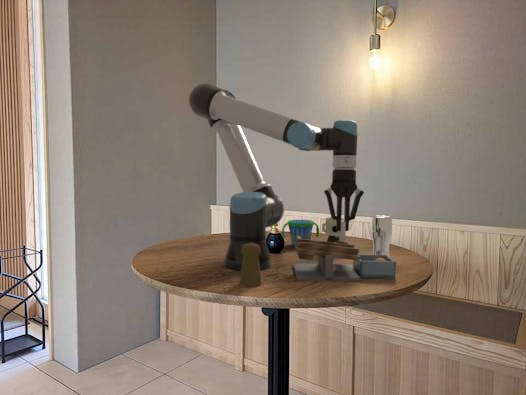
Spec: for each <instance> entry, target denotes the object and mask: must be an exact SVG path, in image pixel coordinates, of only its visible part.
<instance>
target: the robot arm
mask: <svg viewBox="0 0 526 395" xmlns="http://www.w3.org/2000/svg"><path fill="white" fill-rule="evenodd" d="M188 103H189V107H190V109H191V111H192V113H194V114H195V115H196V116H198V117H199V118H202V119H206V120H207V122H208V124H209V126H210V128H211V131H212V132H216V133H217V135H218V137H219V139H220V142H221V144H222V146H223V149H224V152H225V153H226V156H227V158H228V160H229V162H230V164H231V167H232V169H233V171H234V174H235V176H236V179H237V181H238V183H239V186H240V188H241V191H242V192H237V193H235V194H233V195H232V196H231V197H230V204H229V243H228V247H227V248H226V253H225V255H224V262H223V264H224V267H226V268H229V269H232V270H239V271H241V269H242V262H243V254H242V252H241V249H242V246H243V245H244V244H248V243H254V244H258V245H259V246H260V249H261V251H260V254H259V256H258V257H259V266H260V270H263V269H267V268H270V267H271V266H272V265H271V263H272V262H271V260H272V259H271V255H270V251H269V248H268V245H267V242H266V240H267V239H266V234H267V233H266V232H267V230H266V229H267V228H271V227H274V226H275V225H277V224H278V223H279V222H280V221H281V220H282V218H283V216H284V214H285V205H284V201H283V200H282V198H281V197H279V196H278V195H276V194H275V192H274V190H273V187H272V186H271V184H270V183H267V182H265V180H264V177H263V175H262V173H261V170H260V167H259V165H258V163H257V160H256V159H255V157H254V155H253V152H252V150H251V146H250V145H249V142H248V140H247V138H246V136H245V134H244V131H243V128H245V129H248V130H250V131H252V132H256V133H259V134H262V135H265V136H266V137H269V138H272V139H275V140H277V141H281V142H283V143H286V144H288V145H290V146H293V147H294V148H296V149H298V150H299V151H302V152H303V151H304V152H310V151H317V152H318V151H319V152H320V151H323V152H324V151H332V168H333V169H332V172H331V173H332V176H331V177H332V178H331V179H332V180H331V184H330V187H329V188H327V189H324V190H323V193H324V195H325V197H326V199H327V204H328V209H329V214H330V217H331V218H332V219H334V220H336V221H337V225H336V229H337V231H339V240H340V241H341V242H346V232H349V230H350V229H349V228H350V221H353V220H355V219H356V215H357V212H358V208H359V206H360V205H359V204H360V201H361V198H362V197H363V195H364V194H365V192H364V190H361V189H360V188H358V184H357V170H356V168H357V150H358V149H357V148H358V123H357V121H355V120H351V119H350V120H348V119H344V120H343V119H340V120H336V121H334V122H333V126H331V127H316V126H314V125H311V124H309V123H307V122H304V121H300V120H297V119H294V118H291V117H289V116H286V115H282V114H281V113H280V114H279V113H277V112H274V111H271V110H268V109H265V108H263V107H259V106H256V105H254V104H251V103H248V102H245V101H242V100H239V99H238V98H237V97H236V95H234V94H233V93H232V92H230V91H229V90H226V89H223V88H220V87H218V86H214V85H212V84H211V83H201V84H198V85H196V86H195V87H193V88H192V90H191V92H190V94H189V97H188ZM354 193H355V196H354V198H353V199H354V200H353V204H352V207H351V206H350V205H351V202H350V201H351V197H352V196H353V194H354ZM333 194H334V195H335V196H336V211H335V205H334V203H333V202H334V201H333V198H332V197H333V196H332V195H333ZM343 198H344V214H342V212H343V211H342V210H343V209H342V208H343V205H342V204H343ZM350 207H351V210H350ZM342 215H344V216H343V218H344V221H341V218H342Z"/></svg>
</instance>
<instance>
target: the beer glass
mask: <svg viewBox="0 0 526 395" xmlns="http://www.w3.org/2000/svg"><path fill="white" fill-rule="evenodd" d="M371 221H372V222H371V236H372V246H373V251H372V254H371V255H387V256H389V257H390V244H391V239H392V234H393V217H392V216H388V215H373V216H372V220H371ZM390 258H391V257H390Z"/></svg>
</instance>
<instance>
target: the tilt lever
mask: <svg viewBox="0 0 526 395" xmlns="http://www.w3.org/2000/svg"><path fill="white" fill-rule="evenodd" d="M294 249H295V250H296V253H297V256H298V260H306V261H314V256H317V257H318V256H325V255H332V256H333V259H334V258H335V259H343V260H352V261H354V260H359V261H360V256H359V255H358V254H359V250H360V249H359V248H356V247H355V245H354V244H350V243H349V242H347V241H345V242H341V241H337V242H327V240H326V241H325V240H324V241H323V240H317V239H310V240H309V239H301V236H296V242H295V246H294Z"/></svg>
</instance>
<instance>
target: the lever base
mask: <svg viewBox="0 0 526 395" xmlns="http://www.w3.org/2000/svg"><path fill="white" fill-rule="evenodd" d="M317 257H318V259H317V263H301V262H299V263H293V269H294V272H295V273H294V274H295V277H296V280H297V281H311V282H312V281H314V282H315V281H317V282H318V281H320V282H321V281H325V282H362V278H361V277H360V276H359V275H358V274H357V273H356V271H355V270H354V269H353V267H352V264H348V263H347V264H345V263H342V264H341V263H337V264H336V263H334V258H333V256H332V255H325V256H317Z"/></svg>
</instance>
